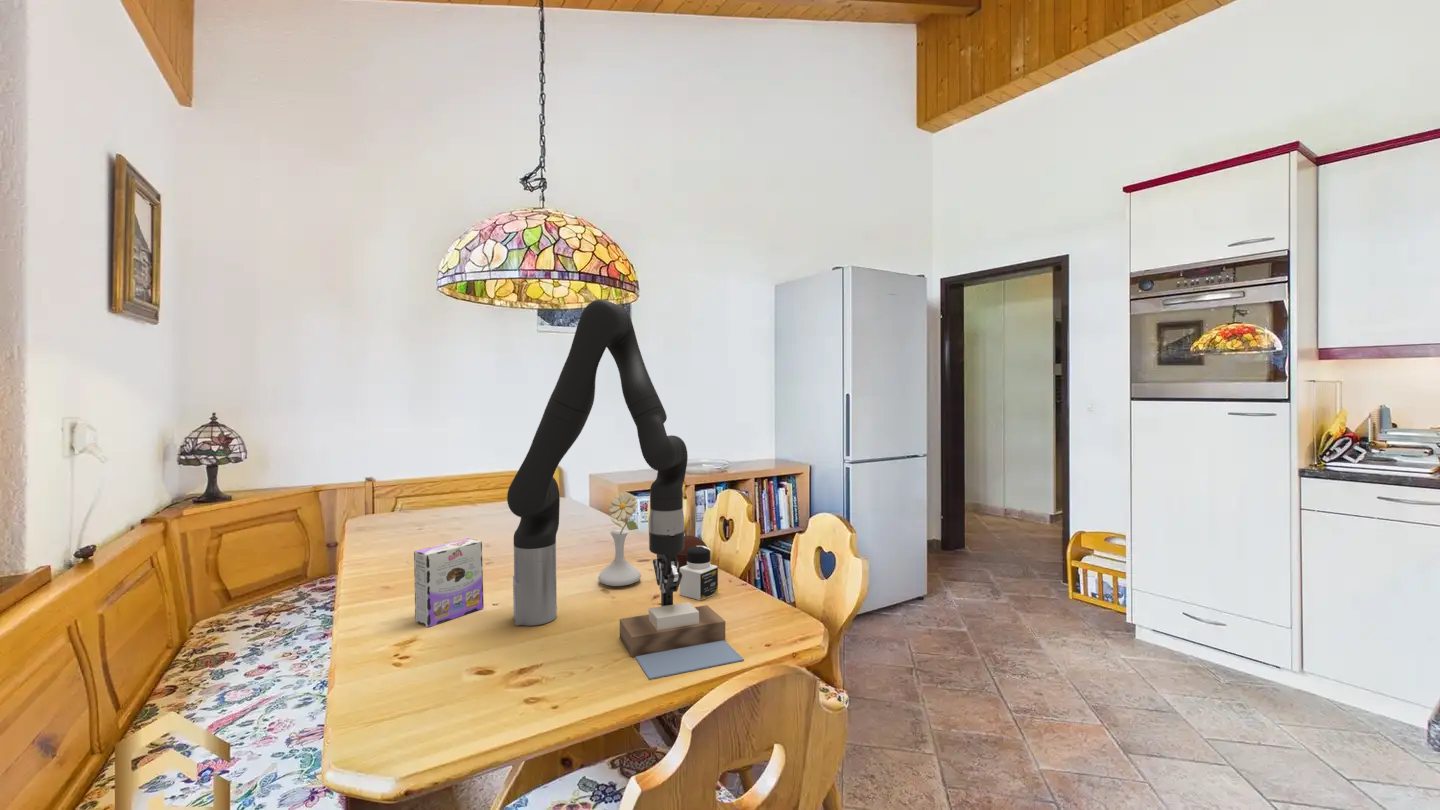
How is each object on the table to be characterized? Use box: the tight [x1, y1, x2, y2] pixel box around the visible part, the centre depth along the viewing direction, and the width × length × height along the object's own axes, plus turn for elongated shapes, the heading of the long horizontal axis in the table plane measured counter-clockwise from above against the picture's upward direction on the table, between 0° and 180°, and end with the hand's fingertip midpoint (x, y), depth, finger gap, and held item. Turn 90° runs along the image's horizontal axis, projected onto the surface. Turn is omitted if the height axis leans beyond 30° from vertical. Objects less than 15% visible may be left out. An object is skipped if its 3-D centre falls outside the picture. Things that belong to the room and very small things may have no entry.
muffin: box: [676, 535, 708, 572], centre depth 172 cm, size 12×11×10 cm
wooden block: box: [619, 604, 726, 658], centre depth 127 cm, size 20×10×4 cm, turn 113°
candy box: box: [413, 538, 485, 628], centre depth 140 cm, size 14×6×16 cm, turn 145°
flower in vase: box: [597, 491, 642, 587], centre depth 162 cm, size 13×11×25 cm
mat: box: [634, 639, 745, 681], centre depth 118 cm, size 19×10×1 cm, turn 113°
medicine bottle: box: [679, 546, 719, 602], centre depth 154 cm, size 7×7×12 cm
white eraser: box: [648, 601, 699, 631], centre depth 126 cm, size 9×6×2 cm, turn 113°
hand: (667, 608), depth 130 cm, fingers closed
